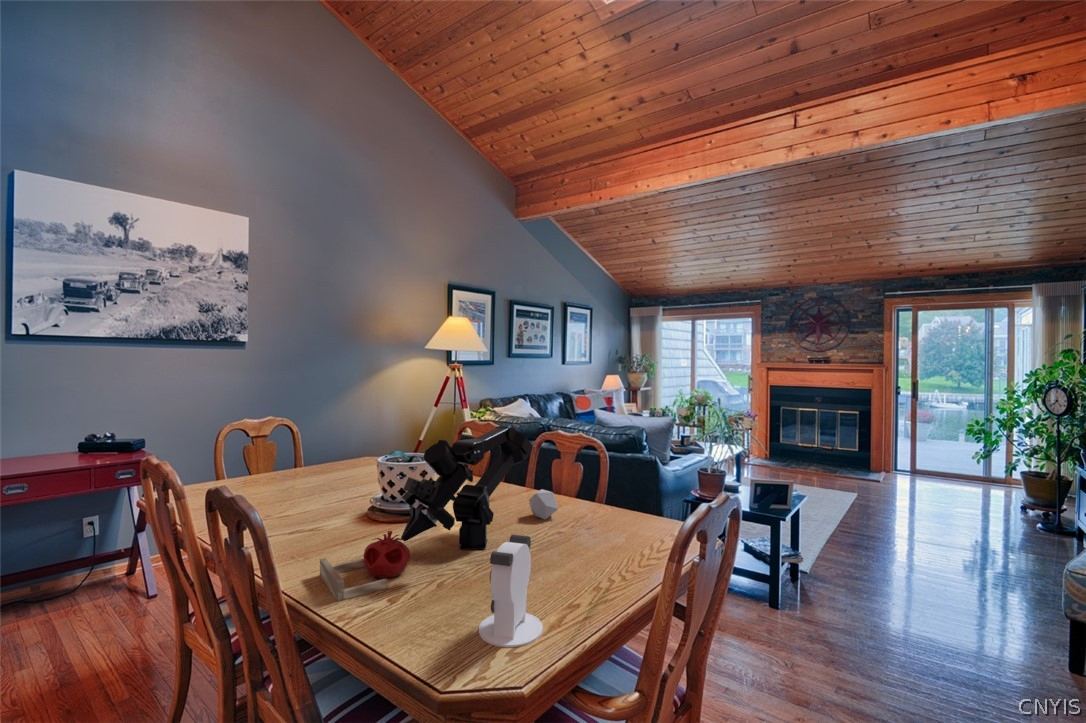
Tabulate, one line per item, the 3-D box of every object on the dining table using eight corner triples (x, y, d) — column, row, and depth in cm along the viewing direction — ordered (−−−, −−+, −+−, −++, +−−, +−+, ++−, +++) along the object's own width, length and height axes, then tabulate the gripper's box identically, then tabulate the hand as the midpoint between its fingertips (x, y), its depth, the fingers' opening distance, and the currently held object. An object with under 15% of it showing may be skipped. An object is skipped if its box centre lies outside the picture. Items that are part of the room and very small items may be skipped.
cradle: (365, 564, 115) (365, 549, 115) (387, 587, 103) (387, 570, 103) (319, 575, 109) (319, 559, 109) (337, 601, 97) (337, 582, 97)
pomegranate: (373, 563, 116) (374, 523, 116) (415, 564, 116) (415, 524, 116) (355, 581, 106) (356, 537, 106) (401, 582, 106) (402, 539, 106)
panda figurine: (494, 607, 95) (495, 530, 95) (551, 616, 92) (551, 536, 92) (468, 640, 83) (468, 552, 84) (531, 652, 80) (531, 560, 80)
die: (564, 520, 152) (560, 489, 158) (550, 512, 145) (547, 480, 151) (539, 527, 154) (536, 496, 160) (525, 519, 148) (523, 488, 154)
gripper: (409, 458, 124) (364, 510, 117) (442, 471, 109) (393, 530, 102) (438, 485, 129) (396, 536, 122) (473, 501, 114) (428, 560, 107)
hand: (402, 540), depth 113 cm, fingers closed
